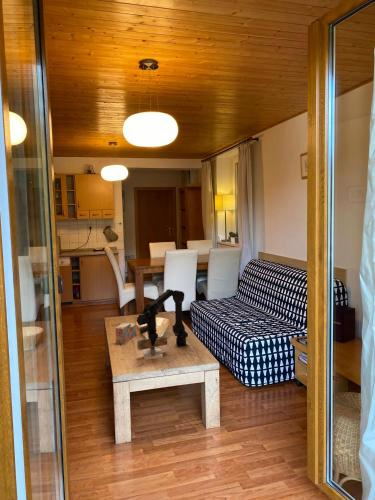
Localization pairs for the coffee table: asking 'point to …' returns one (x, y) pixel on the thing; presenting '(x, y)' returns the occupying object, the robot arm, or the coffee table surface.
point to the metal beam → (147, 343)
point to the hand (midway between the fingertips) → (152, 344)
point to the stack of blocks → (125, 332)
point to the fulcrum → (152, 353)
